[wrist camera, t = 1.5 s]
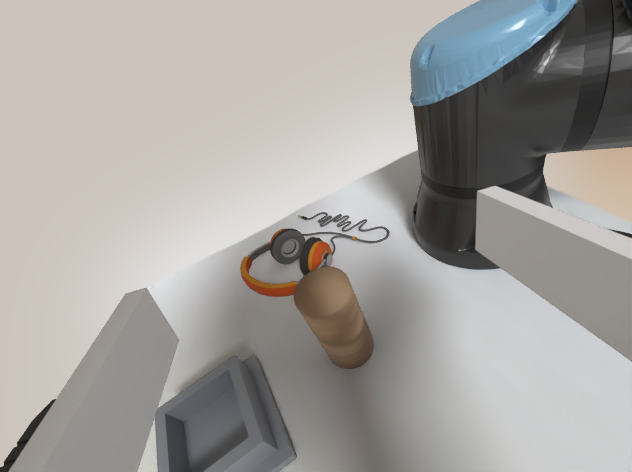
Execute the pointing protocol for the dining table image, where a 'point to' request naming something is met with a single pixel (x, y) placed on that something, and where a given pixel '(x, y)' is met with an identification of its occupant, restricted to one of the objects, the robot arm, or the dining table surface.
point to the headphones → (296, 254)
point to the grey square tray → (223, 424)
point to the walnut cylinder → (334, 316)
